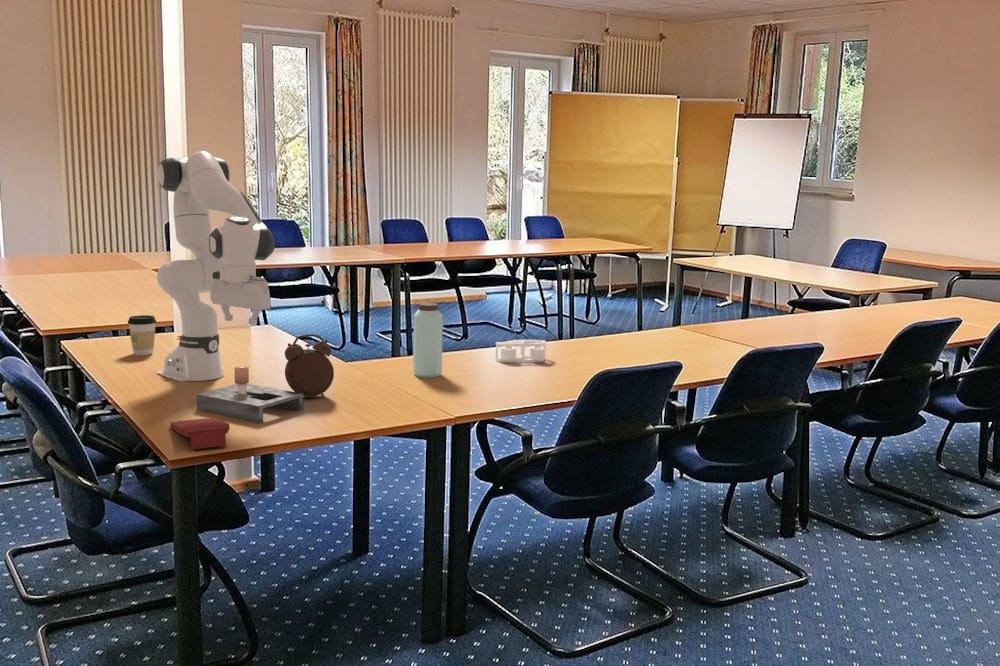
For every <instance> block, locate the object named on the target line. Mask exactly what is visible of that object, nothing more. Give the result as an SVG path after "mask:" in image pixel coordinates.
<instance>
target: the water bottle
mask: <svg viewBox="0 0 1000 666" xmlns="http://www.w3.org/2000/svg"><path fill="white" fill-rule="evenodd" d="M438 309H439V304H438V303H435V302H434V303H433V302H422V303H421V302H419V303H418V308H417V310H416V311H415V313H413V358H412V360H413V361H412V372H413V374H414V375H415V376H416V377H420V378H426V379H428V378H430V379H431V378H437V377H439V376H441V375H442V373H443V324H444V323H443V319H444V318H443V317H444V316H443V314H442V313H441V312H440V311H439V310H438Z"/></svg>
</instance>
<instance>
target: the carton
mask: <svg viewBox="0 0 1000 666" xmlns="http://www.w3.org/2000/svg"><path fill="white" fill-rule="evenodd" d="M169 424H170V425H169V427H170V429H172V430H174V431H175V432H176V433H178V434H180V435H182V436H184V437H186V438H190V448H191V450H196V449H197V450H198V449H207V448H215V447H225V446H227V440H226V435H227V434H228V432H229V430H230V423H228V422H226V421H223V420H221V419H219V418H217V417H211V418H205V417H204V418H198V419H187V420H186V419H185V420H177V421H171V422H169Z"/></svg>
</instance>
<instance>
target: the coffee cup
mask: <svg viewBox="0 0 1000 666" xmlns="http://www.w3.org/2000/svg"><path fill="white" fill-rule="evenodd" d="M156 323H157V319H156V318H155V316H154V315H147V314H145V315H144V314H142V315H132V316H129V318H128V320H127V324H128V326H129V335H130V341H131V342H130V343H131V347H132V351H133V355H134V354H135V355H134V356H137V355H146V356H149V355H148V354H152V353H153V354H154V347H155V340H156V339H155V337H156ZM153 354H152V355H153Z"/></svg>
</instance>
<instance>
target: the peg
mask: <svg viewBox="0 0 1000 666" xmlns="http://www.w3.org/2000/svg"><path fill="white" fill-rule="evenodd" d="M249 368H250V366H247V365H237V366H236V365H235V366H234V368H233V370H234V374H233V375H234V384H237V393H238V394H244V395H247V384H250V376H249V375H250V370H249Z"/></svg>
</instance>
